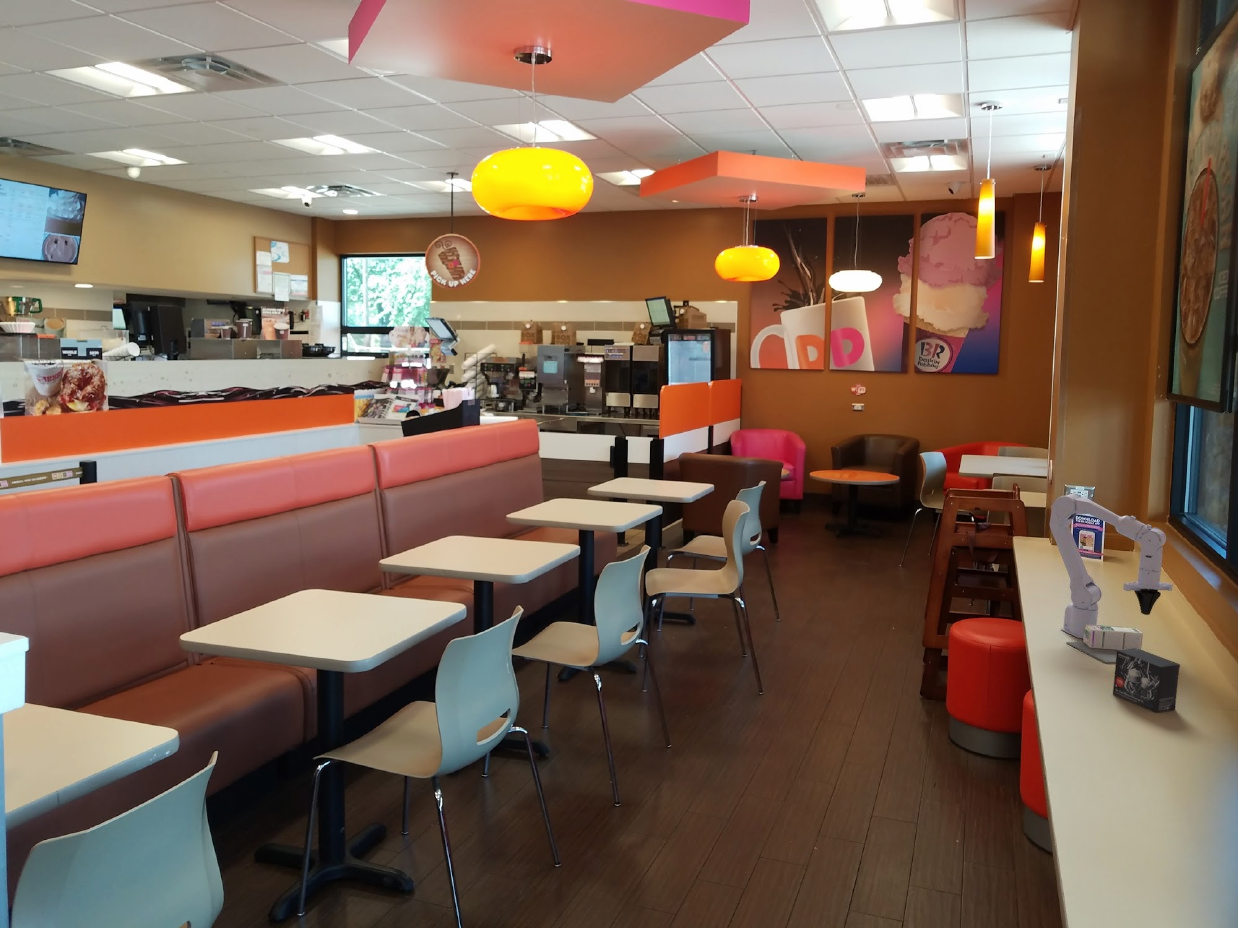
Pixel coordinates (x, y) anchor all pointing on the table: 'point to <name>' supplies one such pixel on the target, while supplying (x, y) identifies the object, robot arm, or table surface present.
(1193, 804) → the table surface
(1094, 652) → the grey mat
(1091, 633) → the syrup box
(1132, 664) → the small box
